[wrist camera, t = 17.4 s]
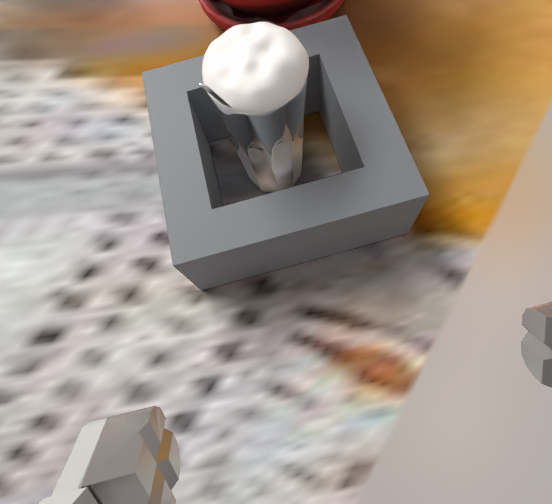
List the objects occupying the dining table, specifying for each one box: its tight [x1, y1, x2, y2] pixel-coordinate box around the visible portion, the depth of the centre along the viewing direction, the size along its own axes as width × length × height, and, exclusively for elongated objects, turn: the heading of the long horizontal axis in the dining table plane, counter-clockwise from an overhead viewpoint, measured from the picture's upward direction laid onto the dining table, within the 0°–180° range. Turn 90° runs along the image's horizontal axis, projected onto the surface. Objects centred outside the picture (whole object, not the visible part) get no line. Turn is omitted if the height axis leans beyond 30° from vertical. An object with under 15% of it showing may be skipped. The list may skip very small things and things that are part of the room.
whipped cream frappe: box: [199, 22, 309, 192], centre depth 19 cm, size 4×5×10 cm
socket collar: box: [142, 15, 430, 290], centre depth 21 cm, size 12×12×4 cm
